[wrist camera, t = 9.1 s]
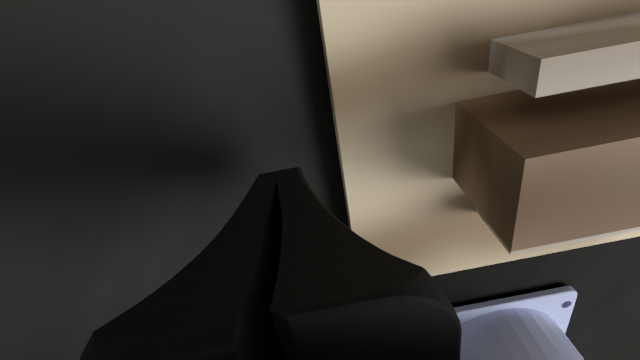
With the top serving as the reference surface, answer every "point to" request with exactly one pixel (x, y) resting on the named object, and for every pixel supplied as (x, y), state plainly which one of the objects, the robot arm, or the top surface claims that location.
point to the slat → (551, 162)
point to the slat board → (452, 106)
